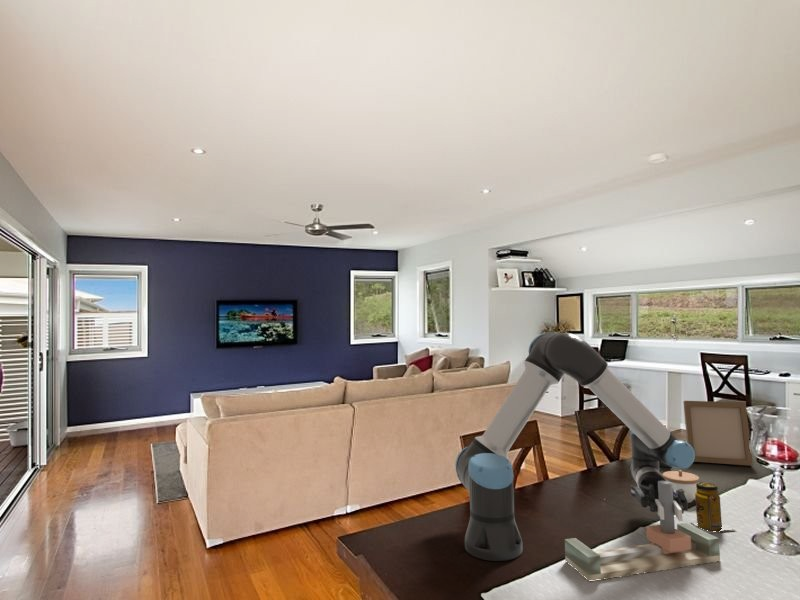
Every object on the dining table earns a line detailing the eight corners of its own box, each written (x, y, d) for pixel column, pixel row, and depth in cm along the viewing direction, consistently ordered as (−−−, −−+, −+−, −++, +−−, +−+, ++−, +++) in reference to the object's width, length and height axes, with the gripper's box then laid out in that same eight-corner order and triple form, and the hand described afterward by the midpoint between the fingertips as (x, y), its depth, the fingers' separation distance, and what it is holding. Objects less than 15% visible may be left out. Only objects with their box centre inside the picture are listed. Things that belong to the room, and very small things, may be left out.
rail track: (589, 582, 112) (588, 557, 112) (565, 562, 122) (564, 539, 122) (720, 561, 120) (718, 538, 120) (687, 544, 130) (686, 522, 130)
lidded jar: (691, 507, 155) (690, 477, 155) (657, 498, 163) (655, 470, 164) (706, 500, 161) (704, 471, 162) (672, 491, 170) (671, 464, 170)
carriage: (670, 557, 118) (666, 488, 119) (647, 543, 126) (643, 479, 127) (691, 554, 119) (687, 486, 120) (666, 540, 127) (663, 476, 128)
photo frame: (753, 468, 194) (749, 404, 195) (690, 463, 202) (686, 402, 204) (744, 458, 207) (740, 399, 209) (685, 454, 216) (681, 397, 217)
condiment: (690, 523, 143) (687, 481, 144) (717, 521, 144) (714, 479, 144) (708, 533, 136) (705, 489, 136) (736, 531, 136) (733, 487, 137)
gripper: (685, 499, 138) (710, 533, 115) (622, 495, 142) (635, 527, 120) (683, 472, 138) (708, 501, 116) (620, 469, 143) (633, 496, 120)
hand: (671, 514), depth 118 cm, fingers closed on carriage, 3 cm apart
